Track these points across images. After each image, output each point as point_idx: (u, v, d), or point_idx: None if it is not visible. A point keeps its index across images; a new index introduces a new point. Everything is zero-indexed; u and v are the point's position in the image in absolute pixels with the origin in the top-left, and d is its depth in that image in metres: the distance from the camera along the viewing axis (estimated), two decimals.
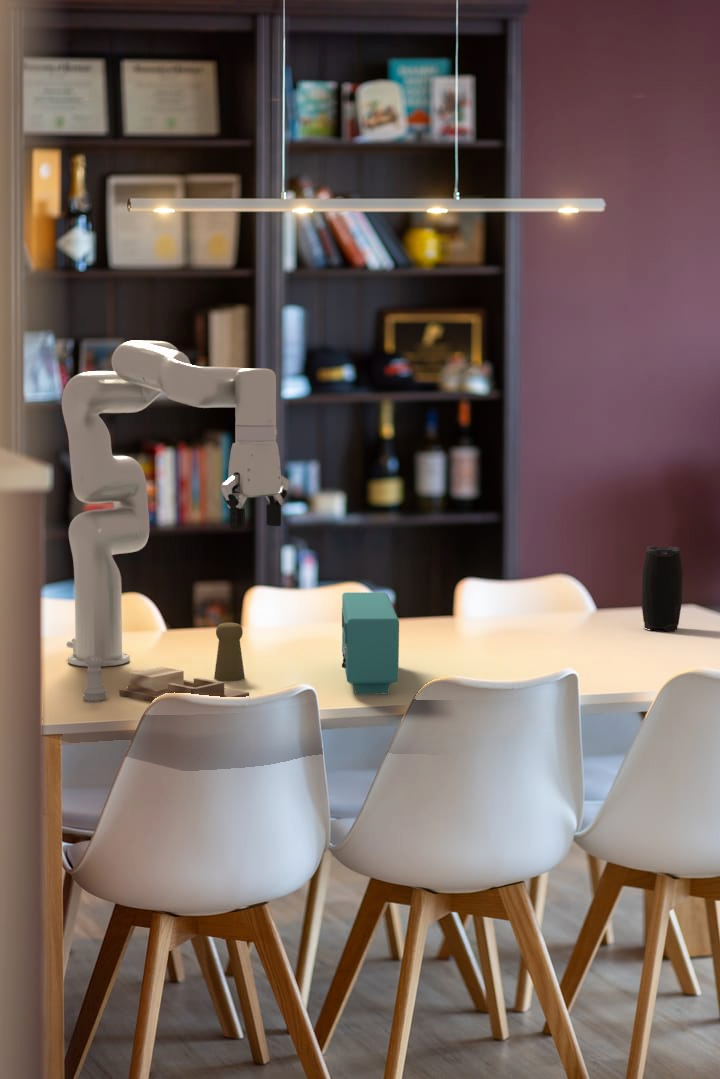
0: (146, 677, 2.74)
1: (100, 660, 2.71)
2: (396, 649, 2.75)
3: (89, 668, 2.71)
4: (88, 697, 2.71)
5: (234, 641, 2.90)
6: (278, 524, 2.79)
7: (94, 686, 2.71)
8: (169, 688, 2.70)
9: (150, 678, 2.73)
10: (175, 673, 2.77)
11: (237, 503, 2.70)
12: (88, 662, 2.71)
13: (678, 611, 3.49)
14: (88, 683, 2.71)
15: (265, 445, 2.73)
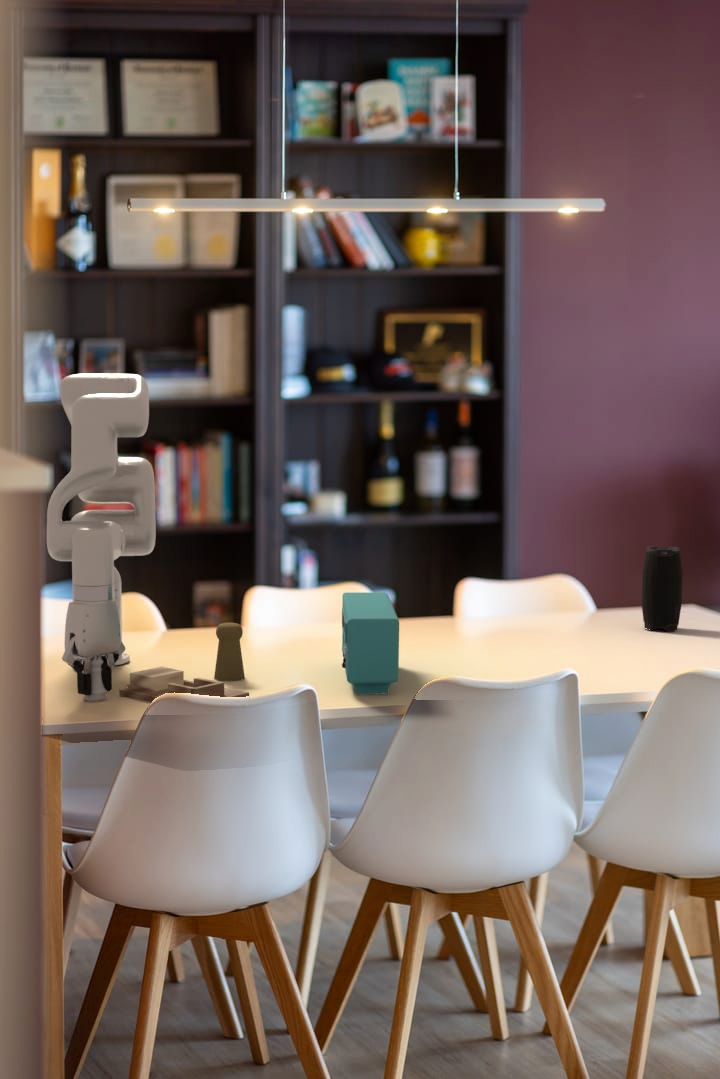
0: (146, 677, 2.74)
1: (100, 660, 2.71)
2: (397, 649, 2.75)
3: (89, 668, 2.71)
4: (88, 697, 2.71)
5: (234, 641, 2.90)
6: (109, 689, 2.73)
7: (94, 686, 2.71)
8: (169, 688, 2.70)
9: (150, 678, 2.73)
10: (175, 673, 2.77)
11: (82, 670, 2.69)
12: None
13: (678, 611, 3.49)
14: None
15: (102, 604, 2.69)
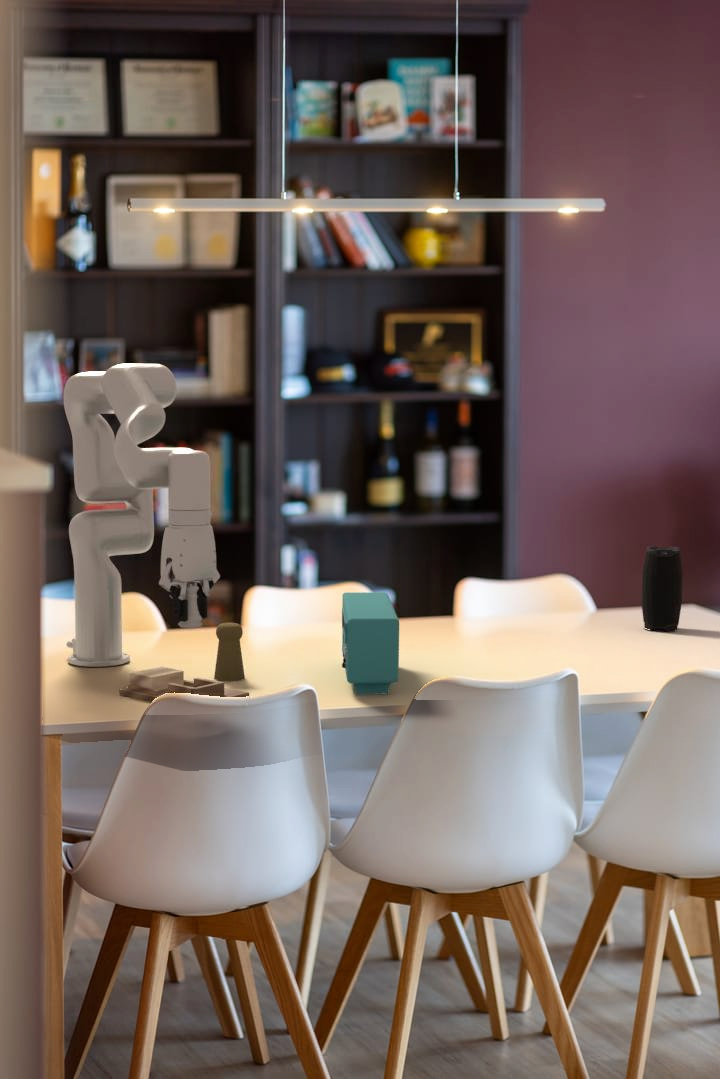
0: (146, 677, 2.74)
1: (196, 586, 2.69)
2: (397, 649, 2.75)
3: (185, 594, 2.69)
4: (184, 624, 2.68)
5: (234, 641, 2.90)
6: (204, 616, 2.71)
7: (190, 612, 2.68)
8: (169, 688, 2.70)
9: (150, 678, 2.73)
10: (175, 673, 2.77)
11: (179, 596, 2.66)
12: None
13: (678, 611, 3.49)
14: None
15: (199, 529, 2.66)
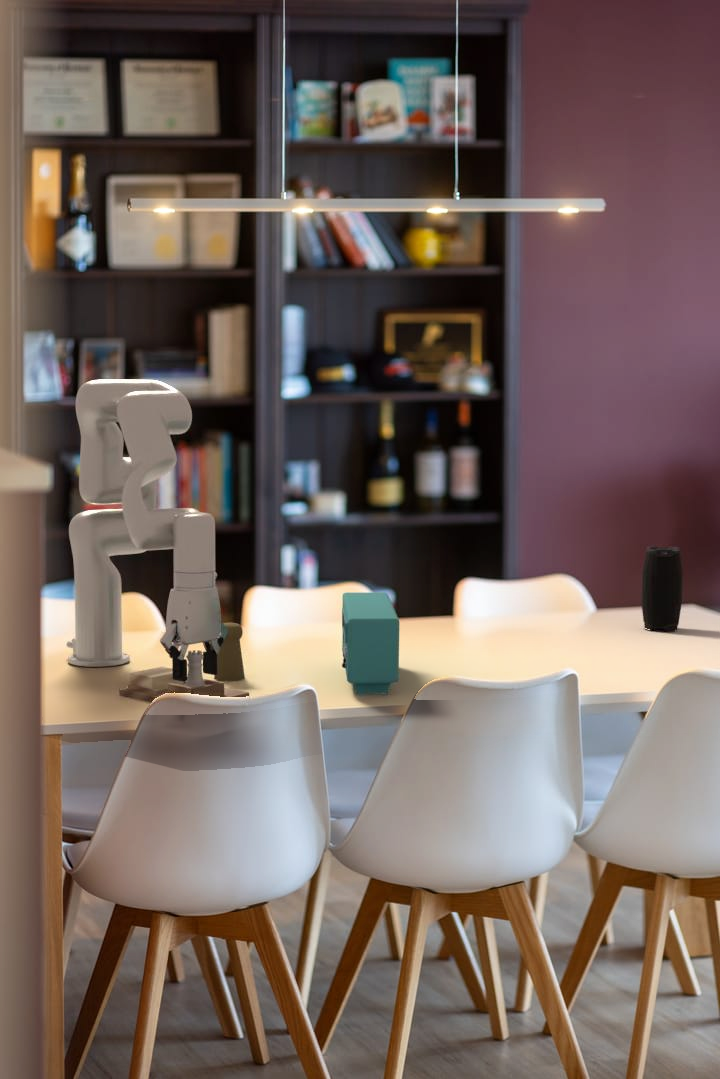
0: (146, 677, 2.74)
1: (201, 655, 2.70)
2: (397, 649, 2.75)
3: (189, 663, 2.70)
4: None
5: (233, 641, 2.90)
6: (215, 673, 2.73)
7: (195, 681, 2.70)
8: (169, 688, 2.70)
9: (150, 678, 2.73)
10: None
11: (178, 655, 2.66)
12: (189, 657, 2.70)
13: (678, 611, 3.49)
14: (189, 678, 2.70)
15: (204, 591, 2.68)
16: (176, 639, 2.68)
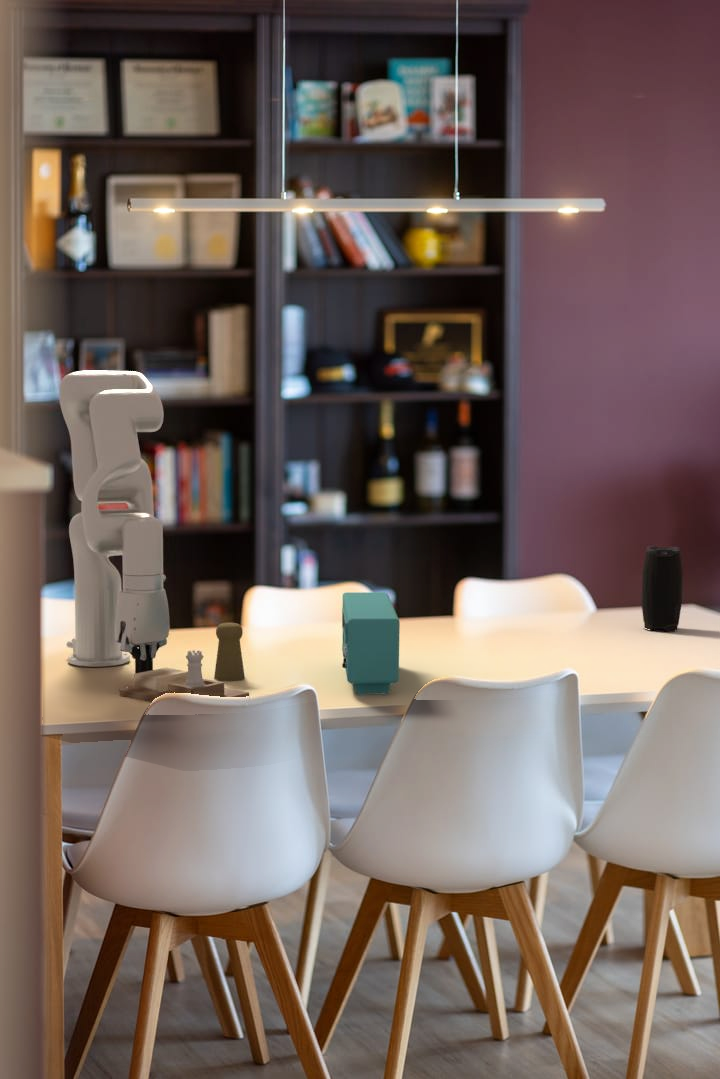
0: (150, 678, 2.73)
1: (200, 655, 2.70)
2: (397, 649, 2.75)
3: (189, 663, 2.70)
4: None
5: (233, 641, 2.90)
6: None
7: (195, 681, 2.70)
8: (169, 688, 2.70)
9: (154, 679, 2.72)
10: (179, 674, 2.77)
11: (140, 658, 2.78)
12: (189, 657, 2.70)
13: (678, 611, 3.49)
14: (188, 678, 2.70)
15: (152, 593, 2.77)
16: None
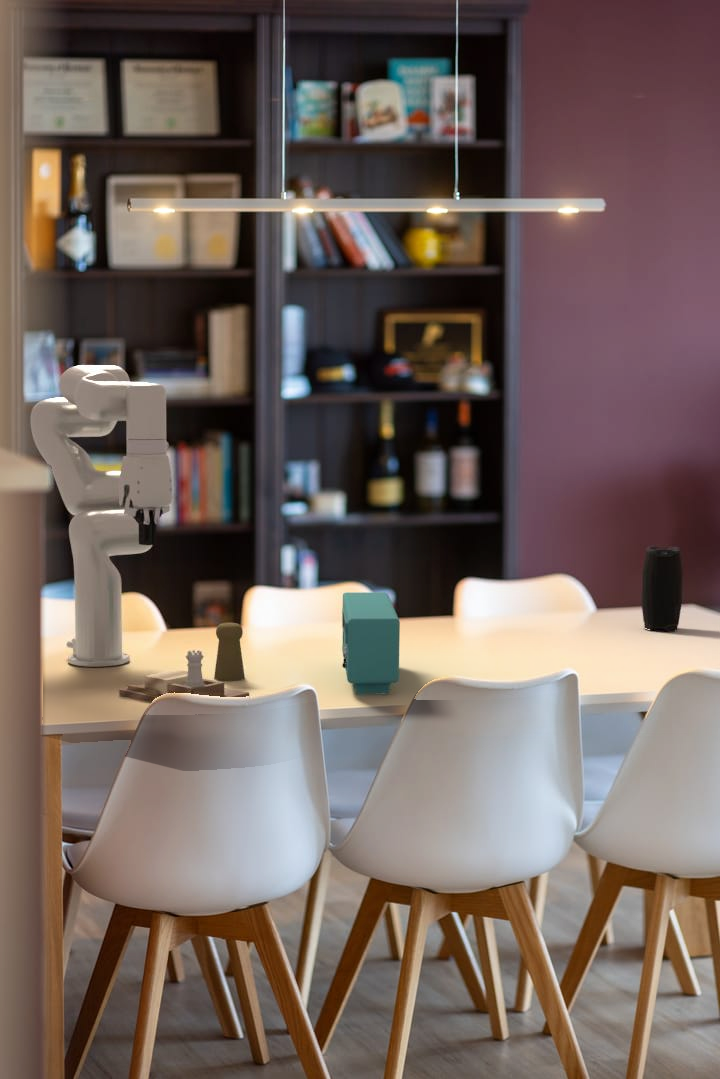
0: (161, 680, 2.71)
1: (200, 655, 2.70)
2: (397, 649, 2.75)
3: (189, 663, 2.70)
4: None
5: (234, 641, 2.90)
6: (153, 542, 2.83)
7: (195, 681, 2.70)
8: (169, 688, 2.70)
9: (165, 681, 2.70)
10: None
11: (144, 522, 2.81)
12: (189, 657, 2.70)
13: (678, 611, 3.49)
14: (188, 678, 2.70)
15: (155, 458, 2.80)
16: None
